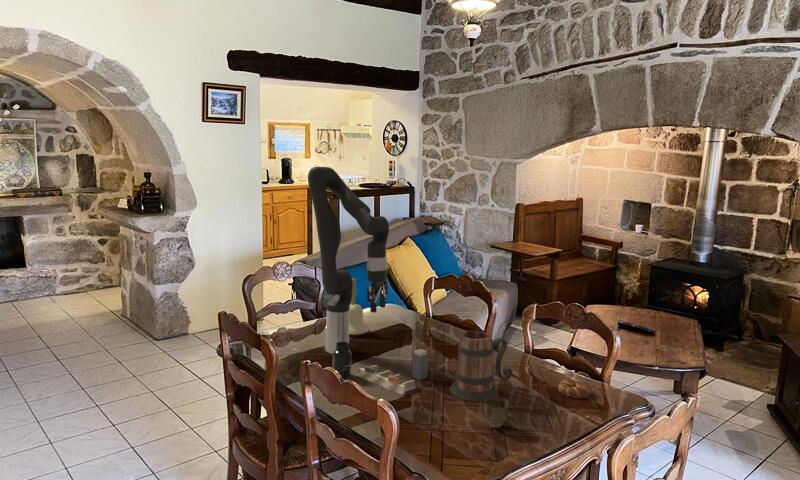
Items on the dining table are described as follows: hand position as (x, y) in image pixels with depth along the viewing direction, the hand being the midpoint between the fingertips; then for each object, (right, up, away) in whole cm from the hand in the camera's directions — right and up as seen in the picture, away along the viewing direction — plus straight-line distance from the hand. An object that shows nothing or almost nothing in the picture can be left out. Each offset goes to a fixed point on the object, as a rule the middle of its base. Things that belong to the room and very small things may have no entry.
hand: (378, 309), depth 228 cm
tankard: (+37, -25, -23) cm, 50 cm away
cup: (+37, -29, -51) cm, 70 cm away
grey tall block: (+16, -23, -14) cm, 31 cm away
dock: (+4, -23, -19) cm, 31 cm away
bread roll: (+69, -26, -23) cm, 77 cm away
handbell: (-13, -15, +38) cm, 43 cm away
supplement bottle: (-13, -22, -14) cm, 29 cm away
